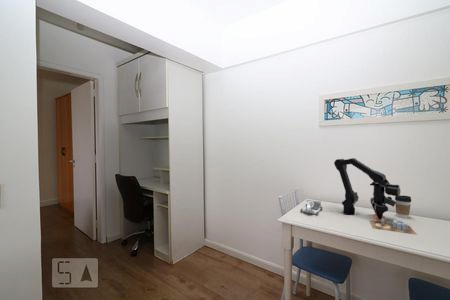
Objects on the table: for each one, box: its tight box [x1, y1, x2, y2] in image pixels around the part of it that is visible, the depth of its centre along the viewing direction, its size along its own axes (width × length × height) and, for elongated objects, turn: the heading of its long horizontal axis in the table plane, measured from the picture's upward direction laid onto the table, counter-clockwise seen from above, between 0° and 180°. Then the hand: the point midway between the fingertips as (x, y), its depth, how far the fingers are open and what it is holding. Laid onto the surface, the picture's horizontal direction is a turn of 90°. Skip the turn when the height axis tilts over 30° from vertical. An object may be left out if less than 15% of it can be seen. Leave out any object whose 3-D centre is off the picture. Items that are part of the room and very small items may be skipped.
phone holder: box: [300, 198, 323, 217], centre depth 153 cm, size 18×10×12 cm
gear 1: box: [371, 213, 386, 222], centre depth 135 cm, size 6×6×4 cm
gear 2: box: [392, 219, 408, 231], centre depth 121 cm, size 6×6×4 cm
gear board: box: [368, 218, 418, 236], centre depth 122 cm, size 20×13×6 cm, turn 64°
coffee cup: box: [394, 195, 412, 219], centre depth 138 cm, size 8×8×15 cm
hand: (378, 216), depth 135 cm, fingers open, 9 cm apart
